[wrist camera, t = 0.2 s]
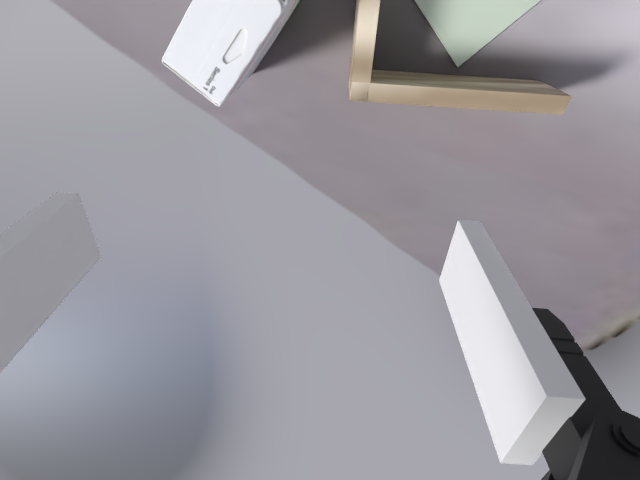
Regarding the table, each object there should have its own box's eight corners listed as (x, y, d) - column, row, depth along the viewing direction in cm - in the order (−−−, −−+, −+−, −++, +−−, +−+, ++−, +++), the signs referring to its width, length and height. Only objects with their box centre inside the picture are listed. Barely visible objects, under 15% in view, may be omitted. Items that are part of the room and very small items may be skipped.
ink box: (258, -49, 31) (221, -64, 21) (305, -4, 32) (290, 2, 23) (207, 41, 35) (156, 63, 25) (251, 77, 36) (219, 111, 27)
